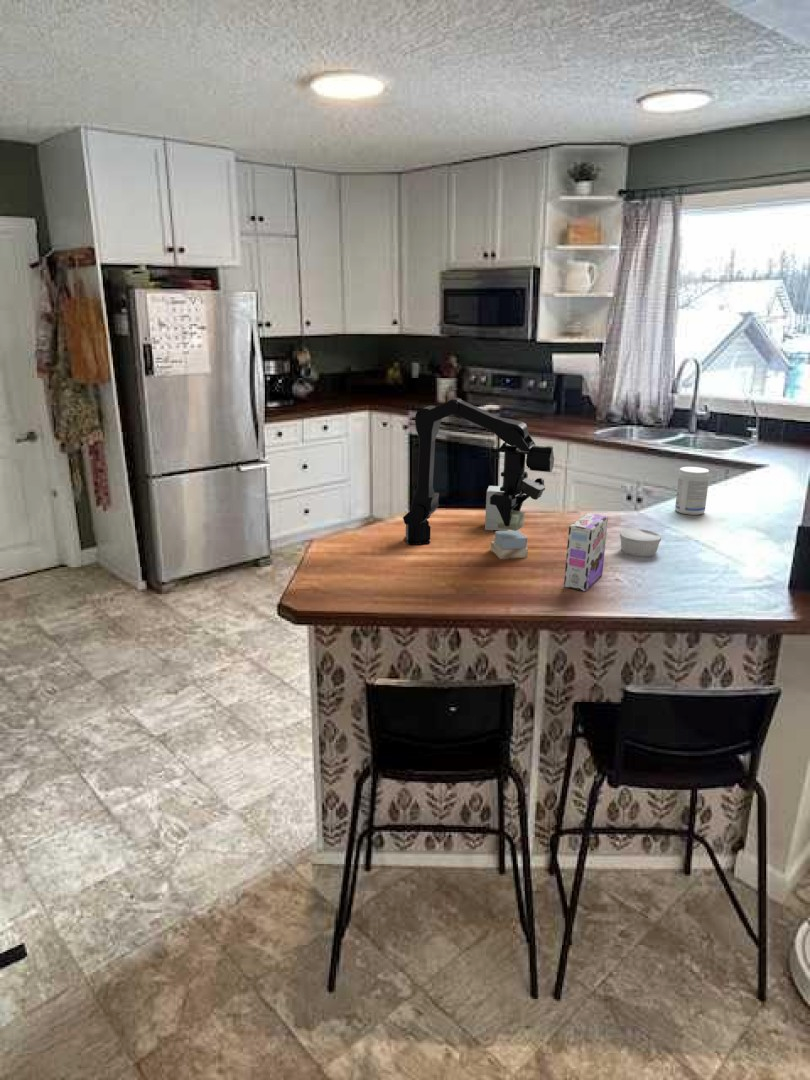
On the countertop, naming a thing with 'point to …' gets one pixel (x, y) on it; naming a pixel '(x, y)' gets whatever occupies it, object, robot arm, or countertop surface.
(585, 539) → the candy box
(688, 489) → the supplement tub
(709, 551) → the countertop surface
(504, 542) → the slate blue top block
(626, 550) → the ramekin
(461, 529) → the countertop surface
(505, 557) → the birch base block
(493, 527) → the supplement box
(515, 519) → the green block
